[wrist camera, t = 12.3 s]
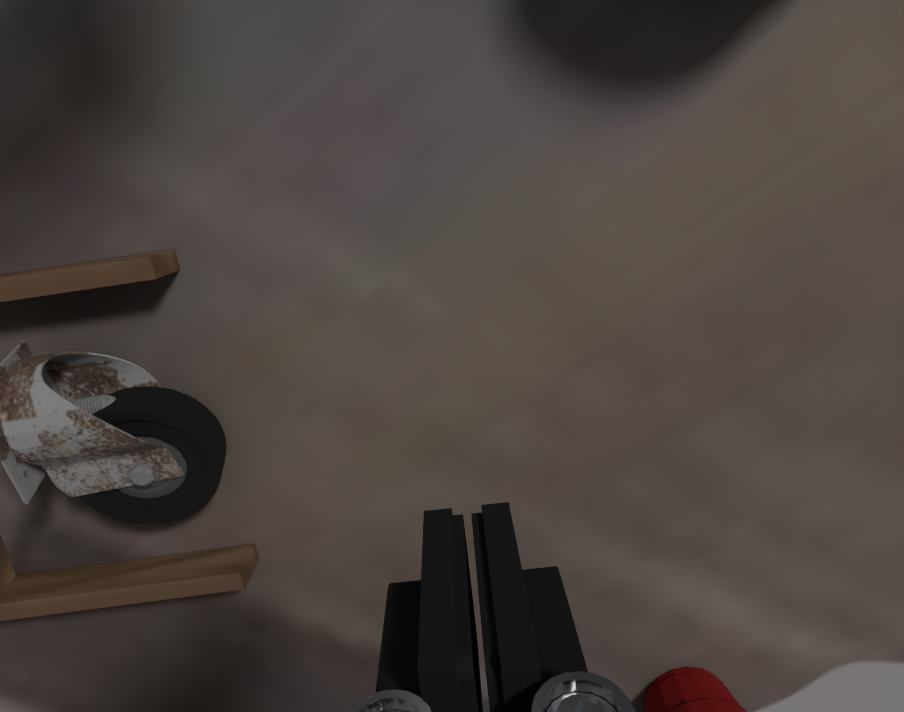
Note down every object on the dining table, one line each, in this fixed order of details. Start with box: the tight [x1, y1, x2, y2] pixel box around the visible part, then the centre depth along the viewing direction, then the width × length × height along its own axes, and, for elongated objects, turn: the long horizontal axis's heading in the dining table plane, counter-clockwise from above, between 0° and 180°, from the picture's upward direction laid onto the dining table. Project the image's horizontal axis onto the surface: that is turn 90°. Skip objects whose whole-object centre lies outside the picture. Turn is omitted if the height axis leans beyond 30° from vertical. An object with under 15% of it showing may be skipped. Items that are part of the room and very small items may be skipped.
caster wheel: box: [0, 340, 227, 524], centre depth 35 cm, size 7×11×10 cm
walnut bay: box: [0, 249, 259, 621], centre depth 37 cm, size 20×17×3 cm
